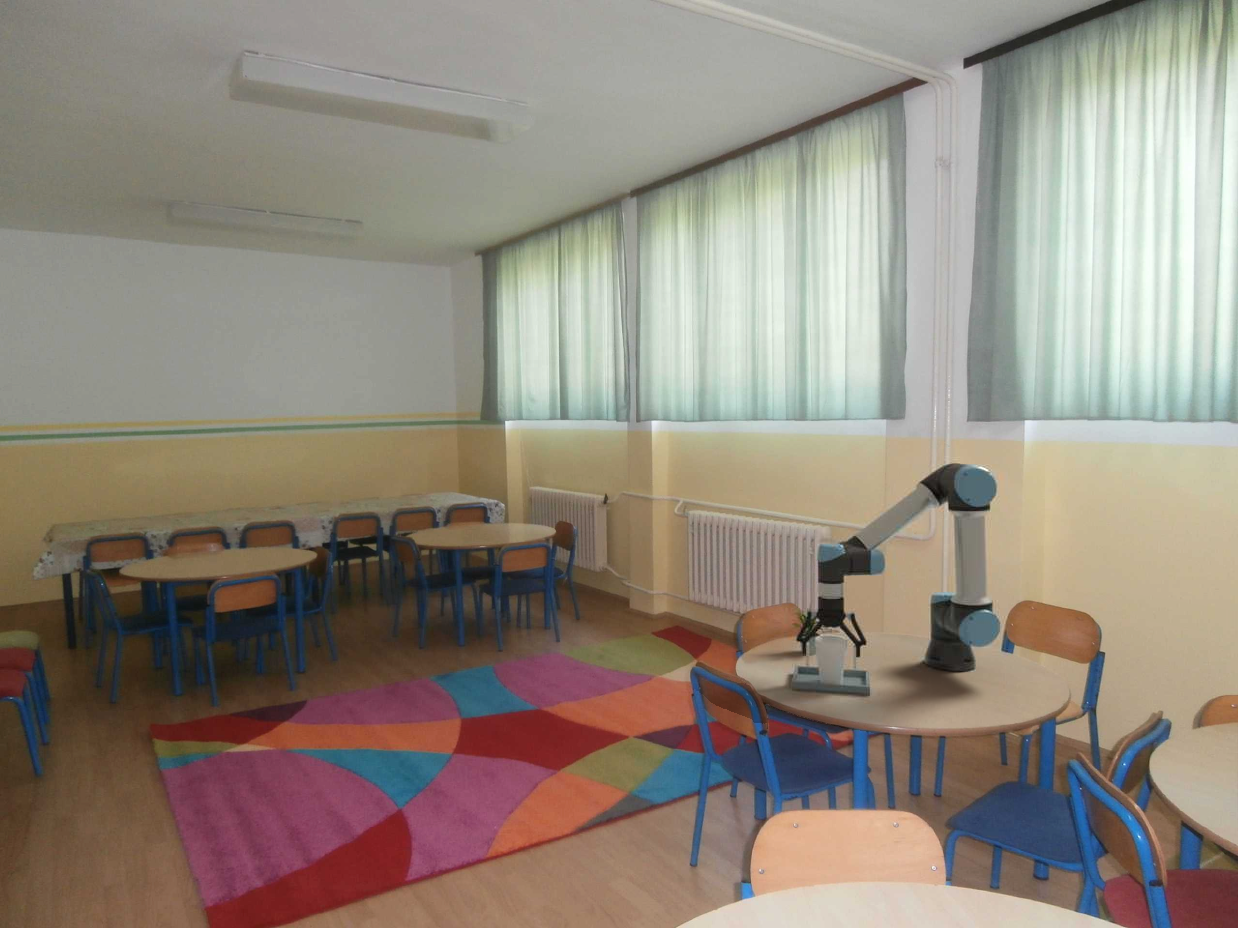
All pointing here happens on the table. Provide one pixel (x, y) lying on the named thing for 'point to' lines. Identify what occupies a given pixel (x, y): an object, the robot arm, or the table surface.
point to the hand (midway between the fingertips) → (831, 666)
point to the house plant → (812, 641)
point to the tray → (851, 683)
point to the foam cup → (831, 657)
